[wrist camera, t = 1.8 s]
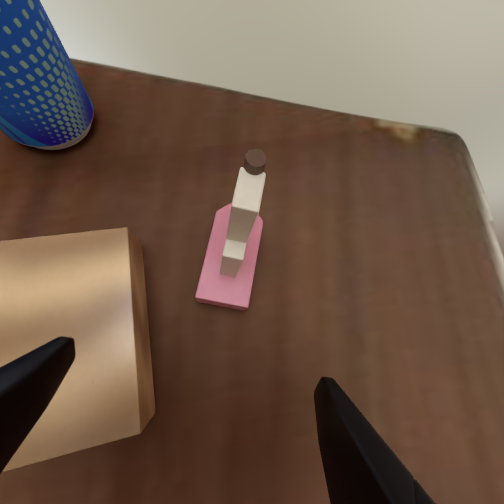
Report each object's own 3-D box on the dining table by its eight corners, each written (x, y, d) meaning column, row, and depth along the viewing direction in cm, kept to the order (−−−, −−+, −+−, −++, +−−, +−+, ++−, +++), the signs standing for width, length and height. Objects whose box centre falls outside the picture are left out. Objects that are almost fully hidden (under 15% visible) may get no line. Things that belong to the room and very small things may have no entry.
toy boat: (243, 310, 23) (282, 284, 11) (196, 301, 23) (179, 263, 10) (261, 214, 26) (306, 109, 14) (220, 205, 26) (229, 87, 14)
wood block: (155, 412, 20) (140, 434, 15) (23, 447, 18) (-36, 483, 13) (142, 245, 23) (127, 226, 19) (32, 260, 22) (-12, 242, 17)
